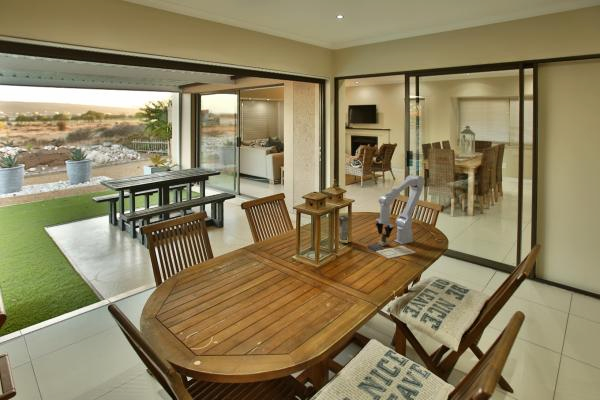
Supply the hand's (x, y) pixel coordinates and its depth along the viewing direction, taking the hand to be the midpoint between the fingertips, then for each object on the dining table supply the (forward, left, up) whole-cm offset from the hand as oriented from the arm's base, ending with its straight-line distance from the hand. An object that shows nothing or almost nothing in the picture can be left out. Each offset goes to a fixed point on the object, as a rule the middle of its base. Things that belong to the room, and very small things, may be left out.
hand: (383, 235), depth 227 cm
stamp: (0, 0, -7) cm, 7 cm away
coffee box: (+19, -18, -7) cm, 27 cm away
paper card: (+1, +13, -7) cm, 15 cm away
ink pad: (+8, +2, -7) cm, 10 cm away
